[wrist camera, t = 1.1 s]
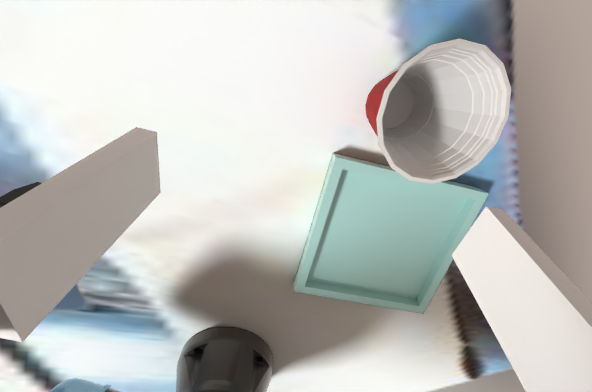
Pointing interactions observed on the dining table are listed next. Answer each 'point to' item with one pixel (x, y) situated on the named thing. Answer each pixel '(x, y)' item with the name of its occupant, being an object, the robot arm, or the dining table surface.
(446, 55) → the plastic cup
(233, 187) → the dining table surface
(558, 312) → the robot arm
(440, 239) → the tray
